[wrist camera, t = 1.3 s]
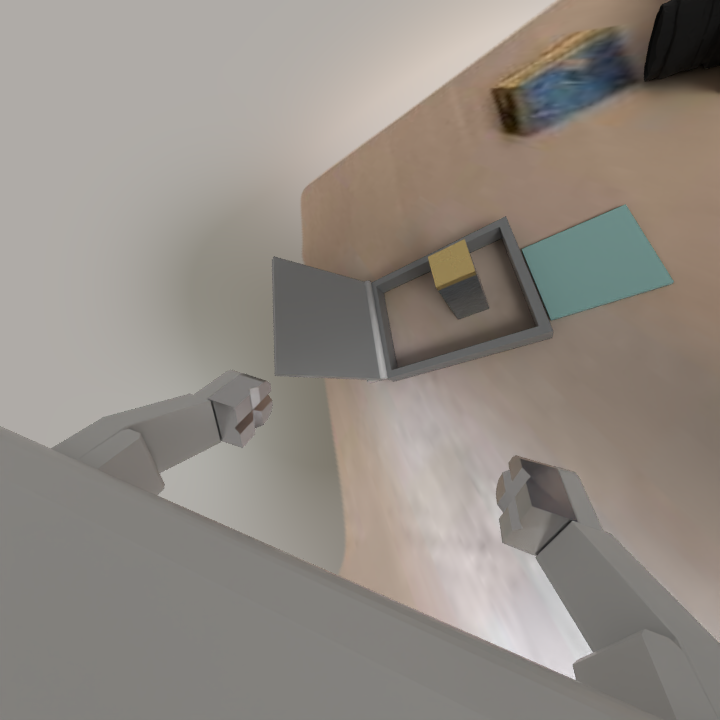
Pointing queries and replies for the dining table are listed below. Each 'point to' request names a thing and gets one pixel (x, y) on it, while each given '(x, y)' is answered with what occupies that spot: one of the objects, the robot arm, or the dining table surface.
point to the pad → (594, 264)
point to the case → (373, 318)
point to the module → (458, 280)
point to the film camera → (684, 38)
